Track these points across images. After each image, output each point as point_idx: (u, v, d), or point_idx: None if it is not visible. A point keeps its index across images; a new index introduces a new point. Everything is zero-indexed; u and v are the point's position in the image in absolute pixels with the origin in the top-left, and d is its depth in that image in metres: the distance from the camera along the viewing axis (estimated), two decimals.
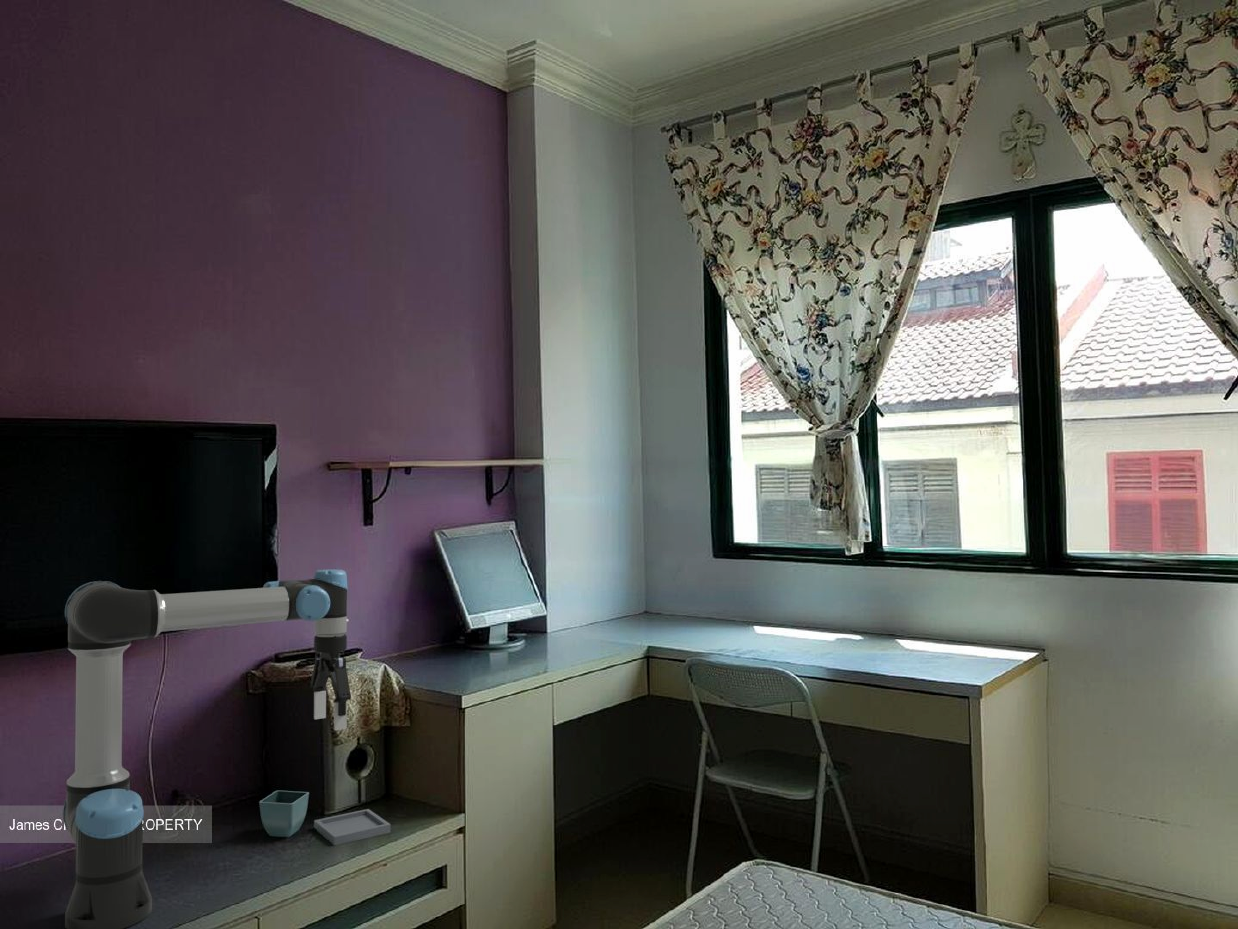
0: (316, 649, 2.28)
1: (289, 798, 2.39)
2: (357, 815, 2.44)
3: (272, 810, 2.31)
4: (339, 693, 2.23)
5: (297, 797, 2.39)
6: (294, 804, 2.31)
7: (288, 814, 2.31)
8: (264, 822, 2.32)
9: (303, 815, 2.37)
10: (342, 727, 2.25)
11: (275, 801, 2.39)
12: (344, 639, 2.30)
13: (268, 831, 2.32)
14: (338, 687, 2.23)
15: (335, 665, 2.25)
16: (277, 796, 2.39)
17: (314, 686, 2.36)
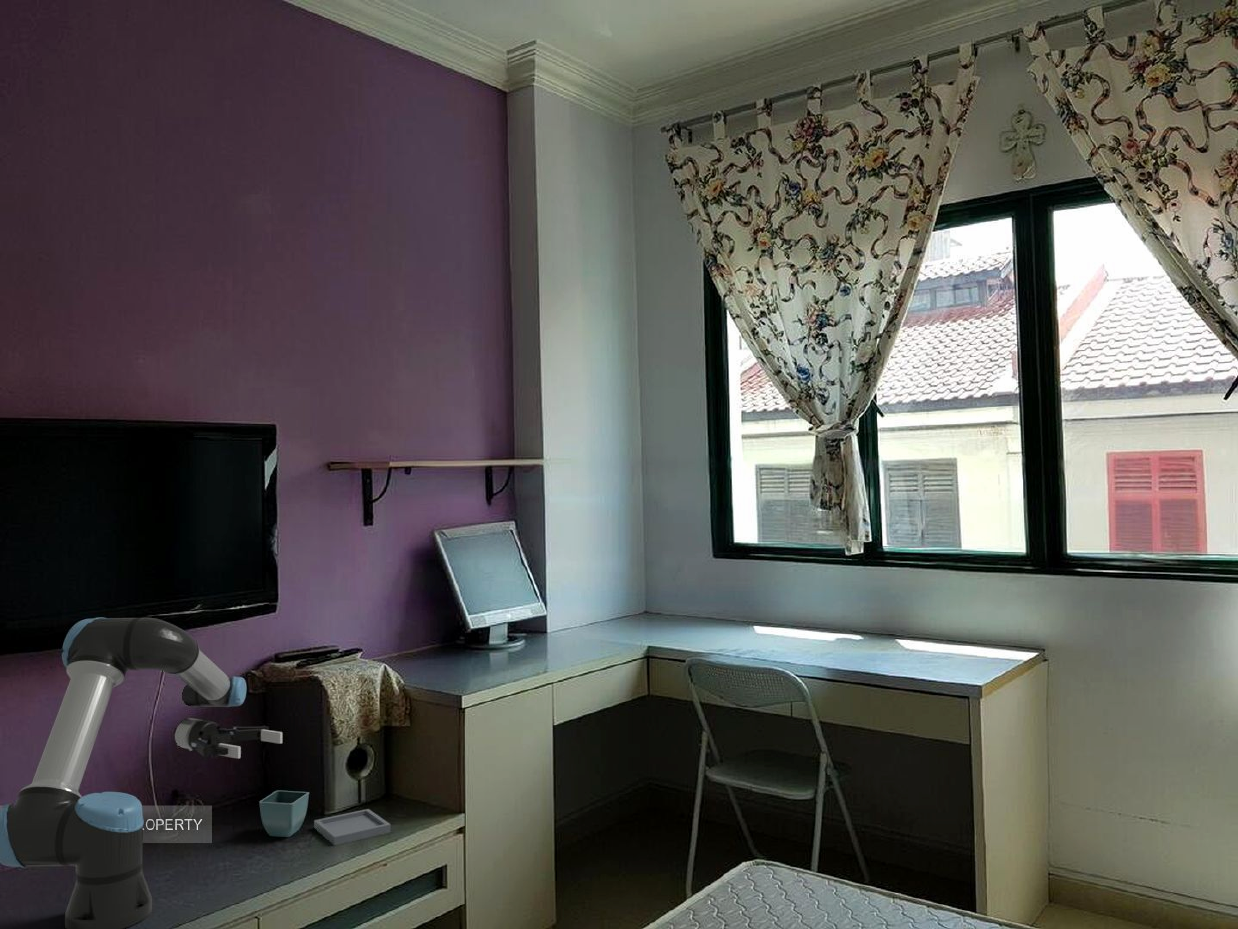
0: (210, 721, 2.47)
1: (289, 798, 2.39)
2: (357, 815, 2.44)
3: (272, 810, 2.31)
4: (262, 727, 2.51)
5: (297, 797, 2.39)
6: (294, 804, 2.31)
7: (288, 814, 2.31)
8: (264, 822, 2.32)
9: (303, 815, 2.37)
10: None
11: (275, 801, 2.39)
12: None
13: (268, 831, 2.32)
14: (256, 727, 2.50)
15: (236, 727, 2.51)
16: (277, 796, 2.39)
17: (213, 744, 2.35)
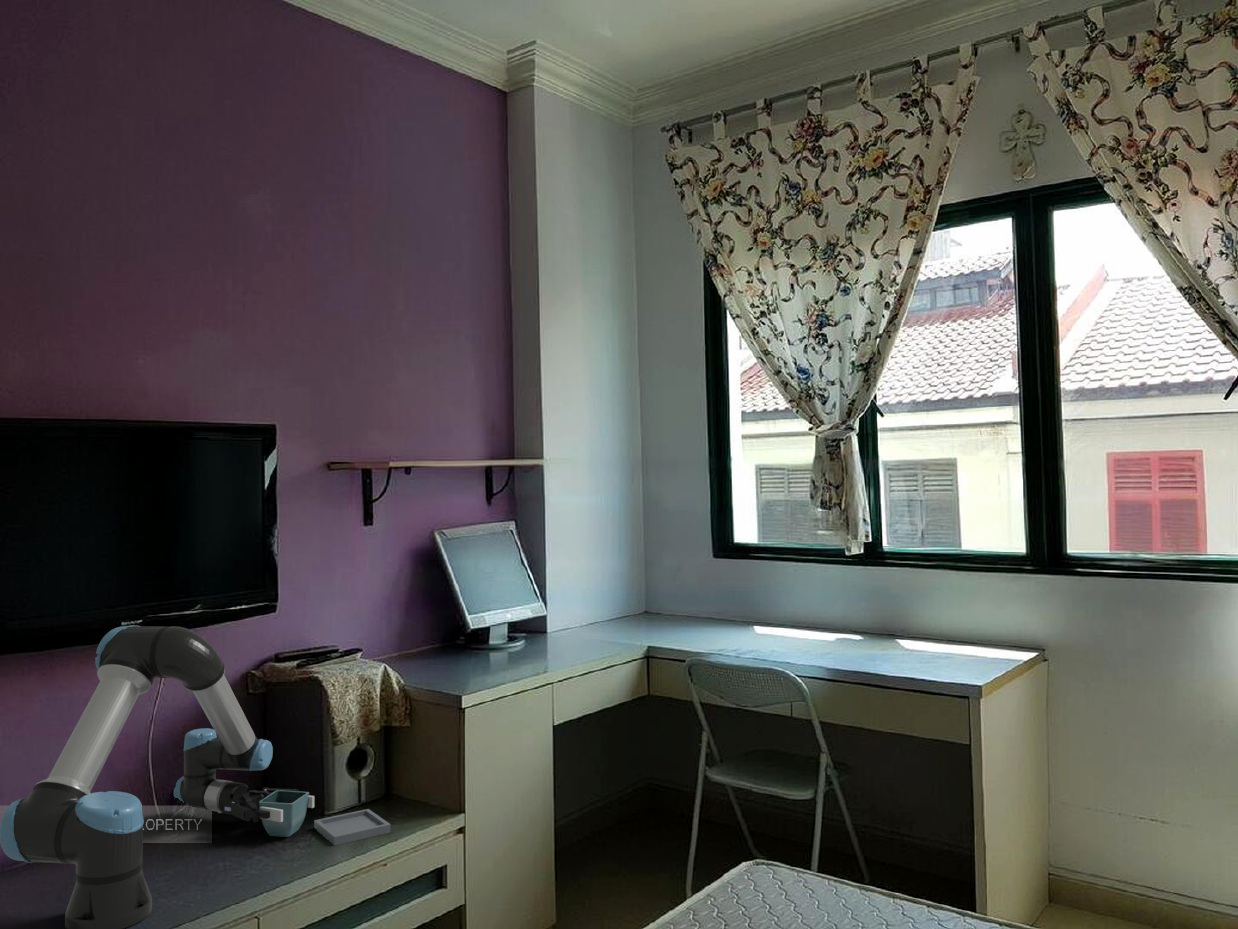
0: (240, 783, 2.42)
1: (289, 797, 2.39)
2: (357, 815, 2.44)
3: None
4: (292, 790, 2.44)
5: (296, 797, 2.39)
6: (294, 804, 2.31)
7: (288, 814, 2.31)
8: (264, 822, 2.32)
9: (303, 815, 2.37)
10: None
11: (275, 801, 2.39)
12: None
13: (268, 831, 2.33)
14: (287, 789, 2.45)
15: (268, 788, 2.45)
16: (277, 796, 2.39)
17: (254, 807, 2.31)
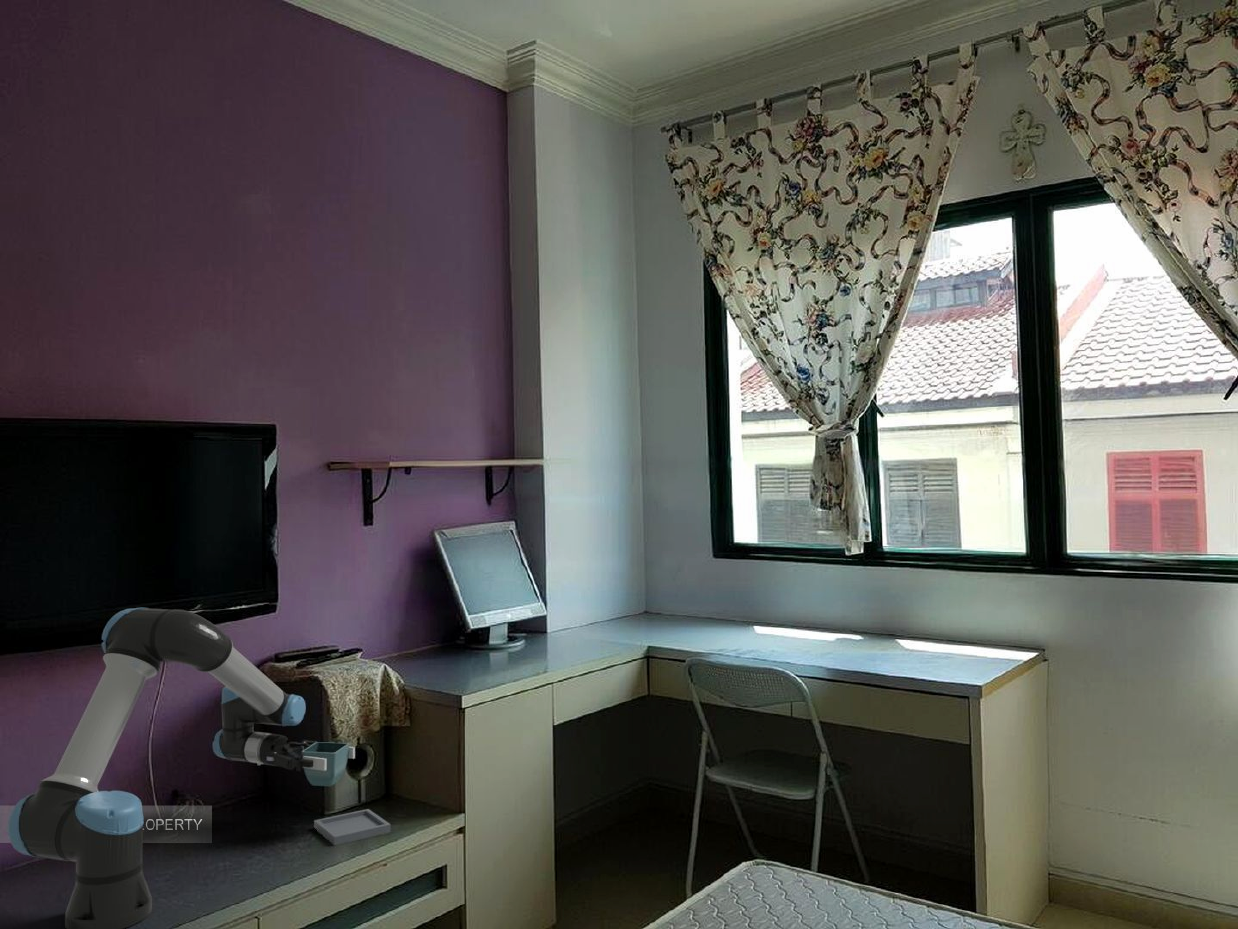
0: (280, 735, 2.44)
1: (330, 748, 2.42)
2: (357, 815, 2.44)
3: None
4: None
5: (337, 748, 2.42)
6: (336, 753, 2.34)
7: (331, 763, 2.33)
8: (306, 771, 2.34)
9: (344, 765, 2.39)
10: None
11: (316, 752, 2.41)
12: None
13: (310, 780, 2.35)
14: None
15: (307, 741, 2.48)
16: (317, 747, 2.42)
17: (297, 757, 2.34)
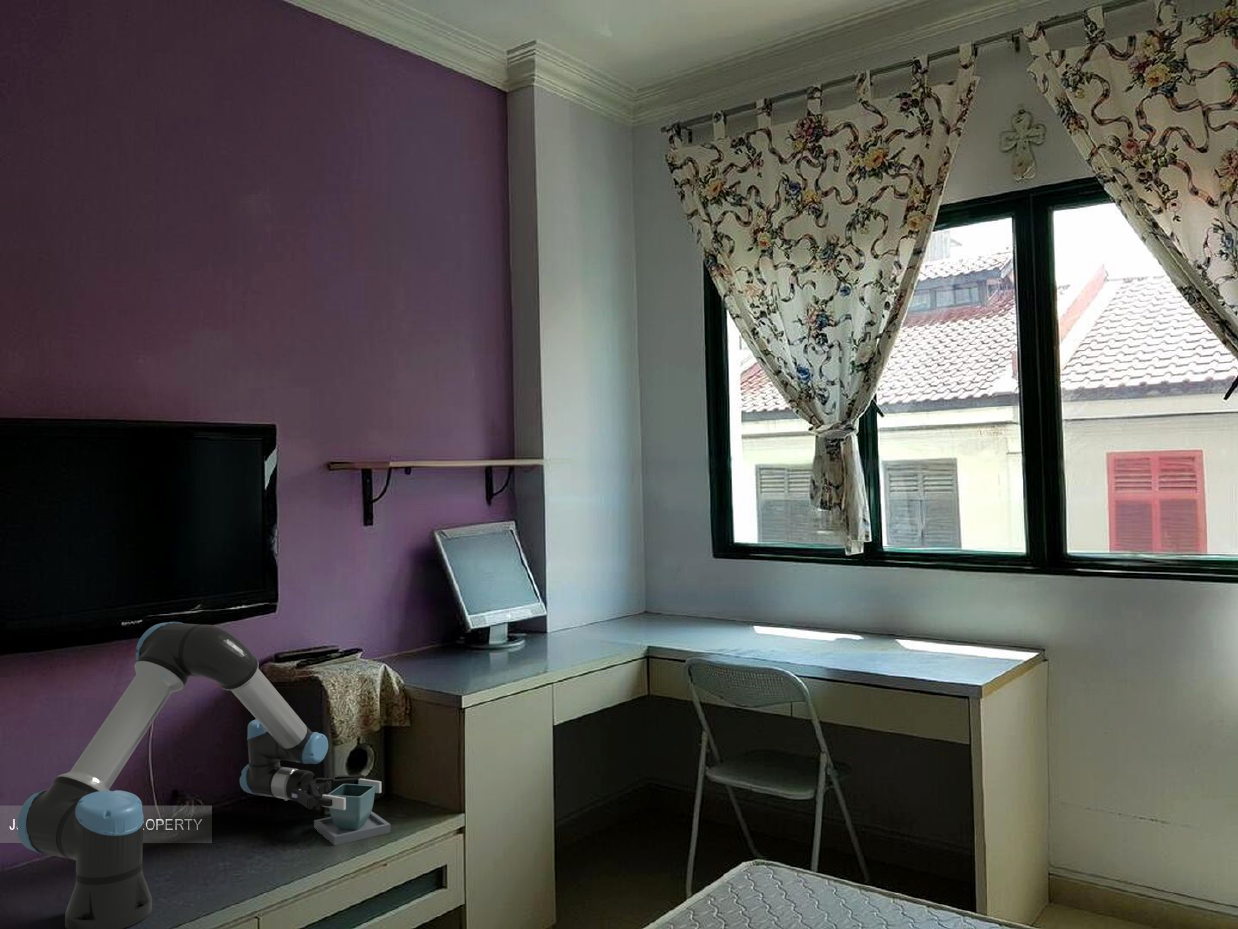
0: None
1: (356, 791, 2.41)
2: None
3: None
4: (357, 776, 2.48)
5: (363, 790, 2.41)
6: (362, 797, 2.33)
7: (356, 807, 2.32)
8: (332, 815, 2.34)
9: (370, 808, 2.38)
10: None
11: (342, 794, 2.40)
12: None
13: (336, 824, 2.34)
14: (352, 776, 2.48)
15: None
16: (344, 789, 2.41)
17: (317, 795, 2.32)
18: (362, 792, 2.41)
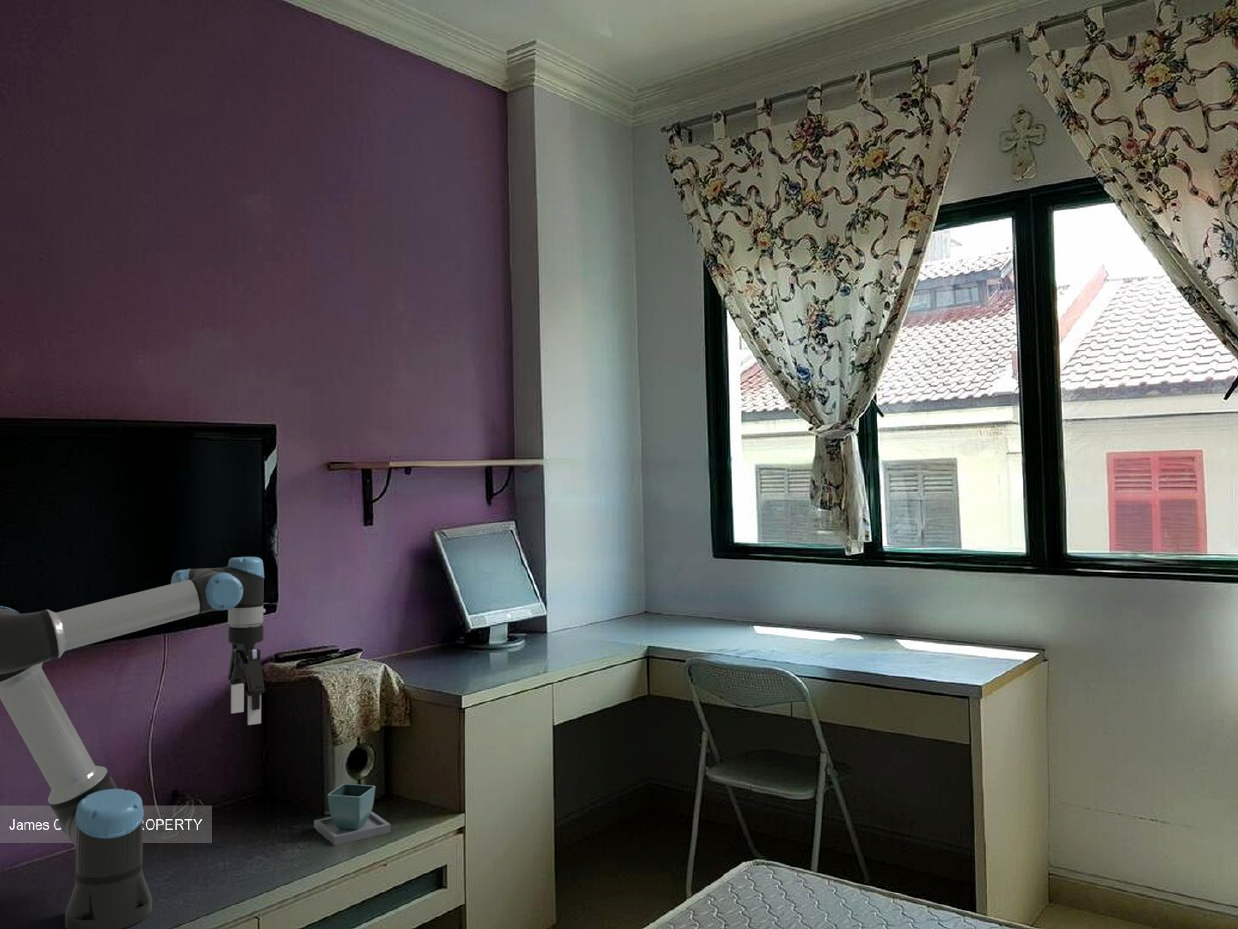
0: (230, 640, 2.18)
1: (356, 791, 2.41)
2: None
3: (340, 802, 2.33)
4: (252, 686, 2.13)
5: (363, 790, 2.41)
6: (362, 797, 2.33)
7: (356, 807, 2.32)
8: (332, 815, 2.34)
9: (370, 808, 2.38)
10: (256, 722, 2.15)
11: (342, 794, 2.40)
12: (260, 630, 2.20)
13: (336, 824, 2.34)
14: (251, 680, 2.13)
15: (248, 657, 2.15)
16: (344, 789, 2.41)
17: (231, 679, 2.26)
18: (362, 792, 2.41)
